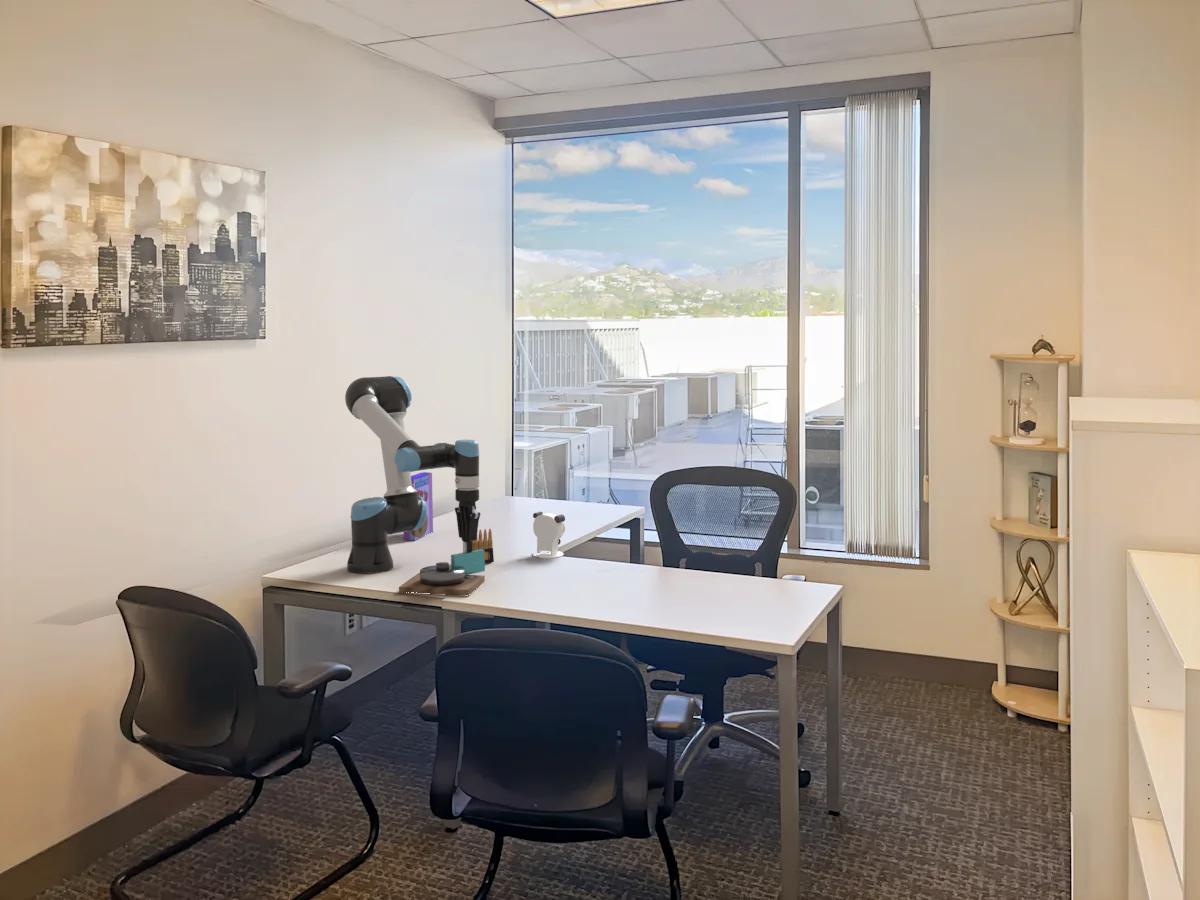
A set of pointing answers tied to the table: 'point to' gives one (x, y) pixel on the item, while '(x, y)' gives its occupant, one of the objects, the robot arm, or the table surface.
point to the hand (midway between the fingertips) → (467, 560)
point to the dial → (454, 568)
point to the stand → (443, 586)
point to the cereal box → (424, 489)
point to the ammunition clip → (484, 545)
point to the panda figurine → (548, 533)
